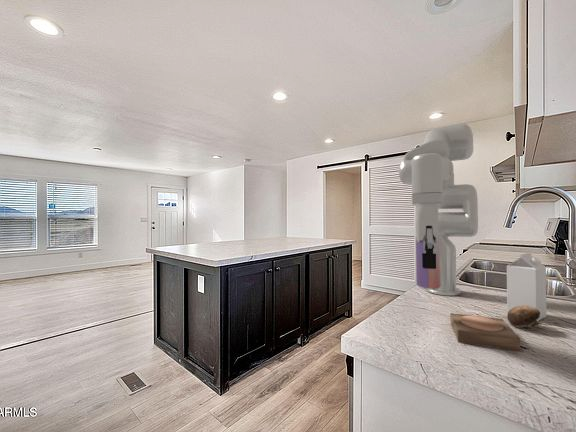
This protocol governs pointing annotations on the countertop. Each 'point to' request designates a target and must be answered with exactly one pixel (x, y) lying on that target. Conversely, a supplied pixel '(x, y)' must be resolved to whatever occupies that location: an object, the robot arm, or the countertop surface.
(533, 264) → the milk carton
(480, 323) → the walnut base
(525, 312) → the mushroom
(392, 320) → the countertop surface
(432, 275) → the beverage can
